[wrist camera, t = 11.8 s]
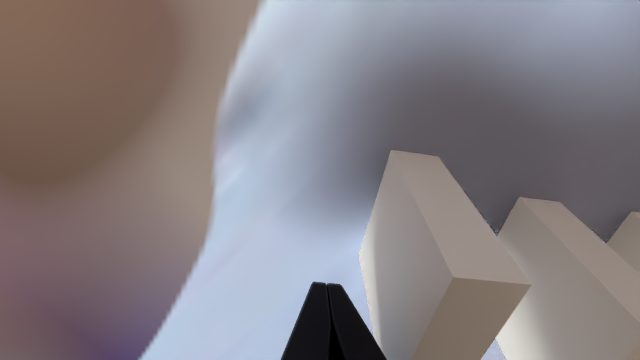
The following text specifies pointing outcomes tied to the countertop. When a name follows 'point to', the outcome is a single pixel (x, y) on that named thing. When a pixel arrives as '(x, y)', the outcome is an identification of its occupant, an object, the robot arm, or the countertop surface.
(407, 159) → the domino
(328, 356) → the robot arm
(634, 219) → the domino
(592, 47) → the countertop surface
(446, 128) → the countertop surface
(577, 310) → the domino
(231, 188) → the countertop surface
